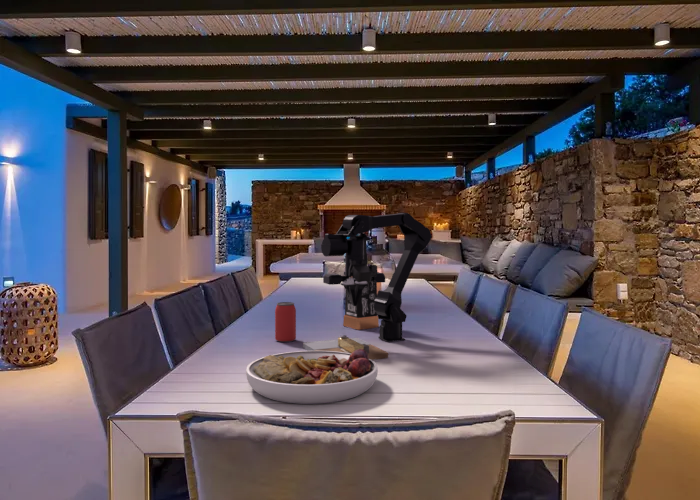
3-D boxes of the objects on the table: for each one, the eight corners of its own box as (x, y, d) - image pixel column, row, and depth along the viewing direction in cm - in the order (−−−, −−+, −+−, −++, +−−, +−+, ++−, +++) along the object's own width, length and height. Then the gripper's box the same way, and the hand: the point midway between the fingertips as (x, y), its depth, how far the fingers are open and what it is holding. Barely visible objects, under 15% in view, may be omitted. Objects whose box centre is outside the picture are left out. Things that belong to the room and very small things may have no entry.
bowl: (265, 417, 104) (264, 377, 103) (234, 377, 131) (234, 345, 131) (400, 398, 116) (401, 362, 115) (346, 364, 143) (346, 335, 143)
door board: (371, 349, 159) (371, 338, 159) (388, 357, 149) (388, 345, 149) (314, 355, 152) (314, 343, 152) (327, 364, 142) (327, 351, 142)
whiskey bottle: (380, 327, 194) (380, 239, 192) (358, 330, 188) (358, 239, 187) (363, 322, 202) (364, 238, 201) (341, 325, 197) (342, 238, 195)
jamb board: (357, 342, 169) (357, 337, 169) (373, 350, 158) (373, 345, 158) (303, 347, 162) (302, 341, 162) (316, 356, 151) (316, 350, 151)
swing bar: (336, 344, 157) (336, 335, 156) (346, 343, 158) (346, 334, 158) (353, 354, 145) (353, 344, 145) (364, 353, 146) (364, 343, 146)
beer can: (292, 343, 168) (292, 305, 167) (272, 342, 169) (272, 304, 169) (298, 338, 174) (298, 302, 174) (279, 337, 176) (279, 301, 175)
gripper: (336, 257, 154) (336, 311, 154) (393, 256, 161) (393, 308, 162) (322, 255, 164) (322, 306, 165) (377, 254, 171) (377, 303, 172)
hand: (354, 306), depth 165 cm, fingers closed
